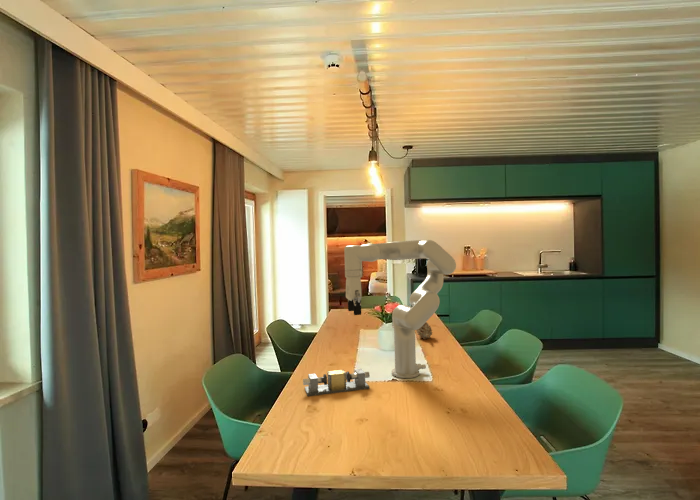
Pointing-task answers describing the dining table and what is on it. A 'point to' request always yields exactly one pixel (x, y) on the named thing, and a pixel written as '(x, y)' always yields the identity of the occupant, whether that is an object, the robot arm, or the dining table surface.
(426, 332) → the pine cone
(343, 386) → the two-tone brushed block
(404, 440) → the dining table surface
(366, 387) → the shaft stand
